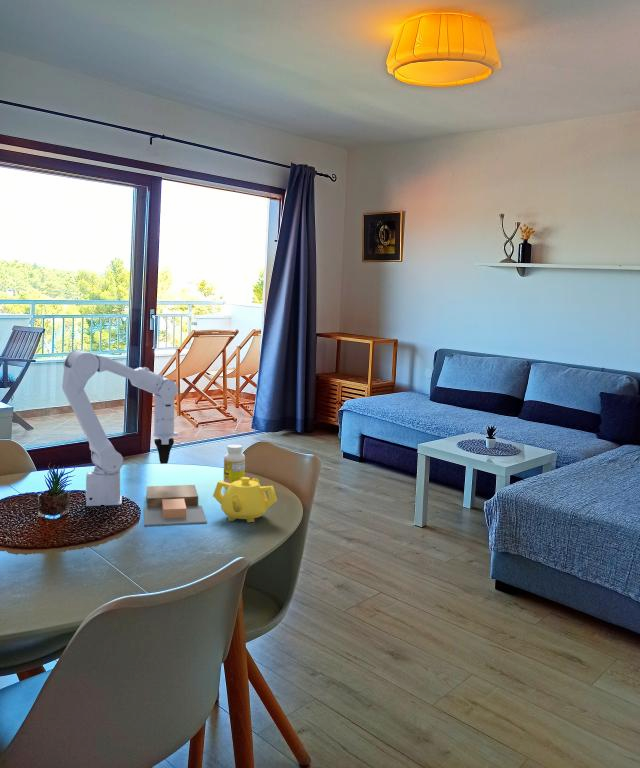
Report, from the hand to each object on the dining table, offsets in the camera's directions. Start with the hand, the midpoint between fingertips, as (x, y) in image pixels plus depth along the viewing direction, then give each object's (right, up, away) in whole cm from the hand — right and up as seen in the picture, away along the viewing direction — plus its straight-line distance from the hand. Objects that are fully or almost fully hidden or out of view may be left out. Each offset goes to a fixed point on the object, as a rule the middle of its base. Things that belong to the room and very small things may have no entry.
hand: (163, 463), depth 207 cm
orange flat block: (+7, -12, -17) cm, 22 cm away
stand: (+4, -10, -6) cm, 13 cm away
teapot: (+26, -13, -18) cm, 34 cm away
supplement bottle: (+19, -9, +13) cm, 25 cm away
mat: (+7, -12, -19) cm, 24 cm away
